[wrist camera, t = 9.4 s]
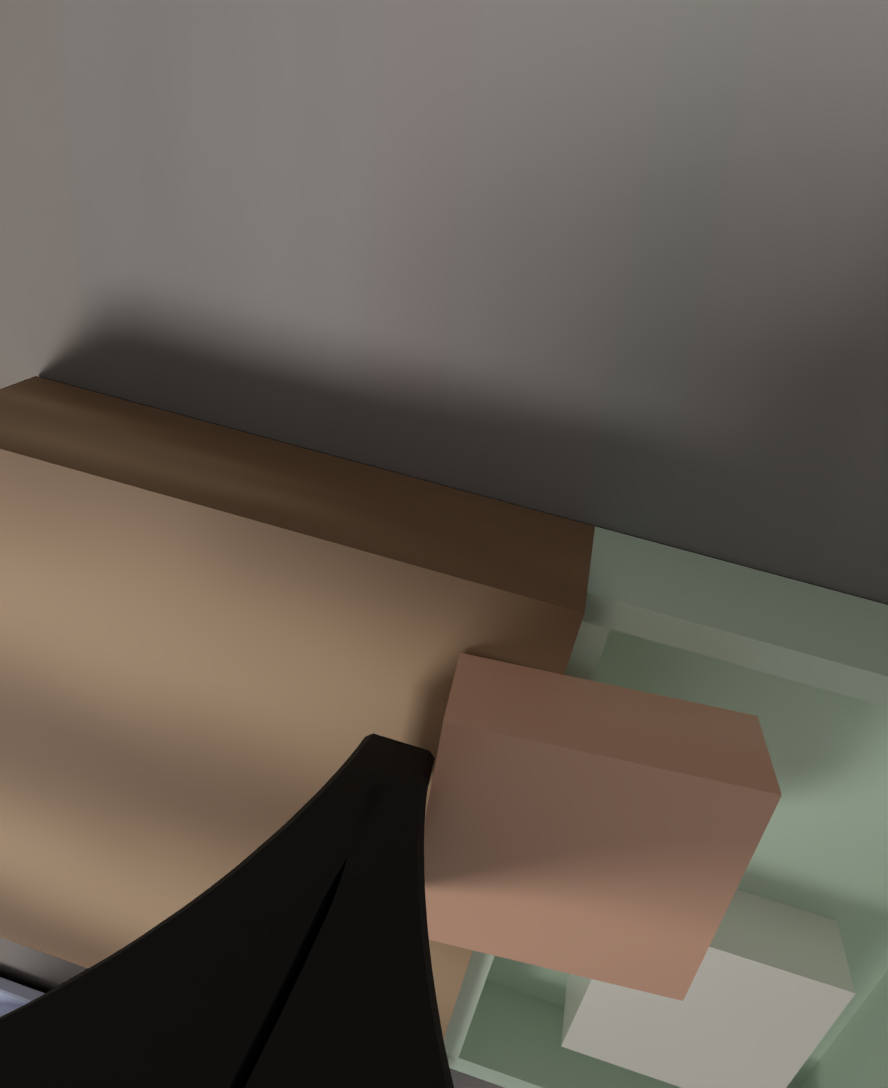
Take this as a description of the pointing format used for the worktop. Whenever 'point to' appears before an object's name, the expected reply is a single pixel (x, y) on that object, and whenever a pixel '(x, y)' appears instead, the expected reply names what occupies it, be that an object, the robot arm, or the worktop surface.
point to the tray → (800, 767)
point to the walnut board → (225, 647)
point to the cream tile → (725, 1004)
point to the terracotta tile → (590, 824)
